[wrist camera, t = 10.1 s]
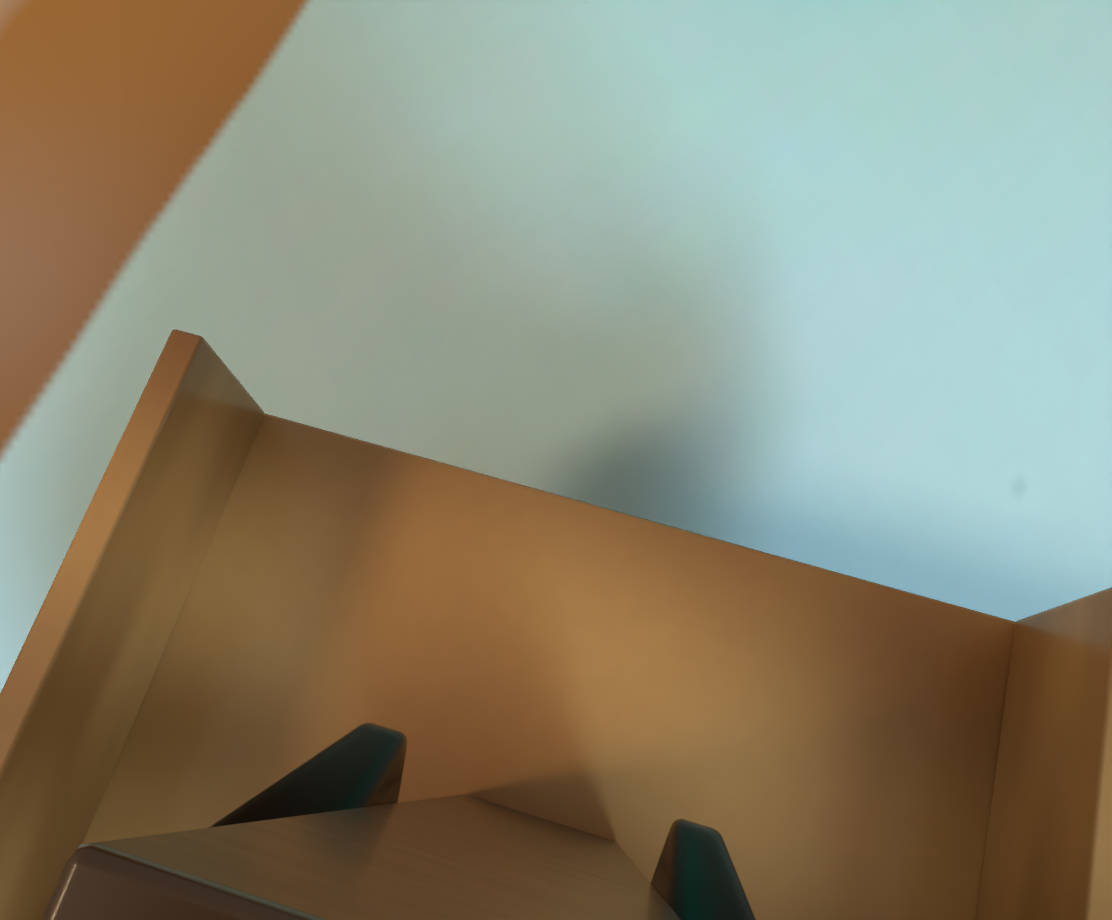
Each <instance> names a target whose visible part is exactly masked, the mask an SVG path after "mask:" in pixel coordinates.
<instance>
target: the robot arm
mask: <svg viewBox="0 0 1112 920" xmlns="http://www.w3.org/2000/svg"><path fill="white" fill-rule="evenodd" d="M406 749H407V738H406V736H405V735H404V734H403V733H402V732H400V731H397V730H393V729H390V728H387V727H384V726H380V725H377V724H374V723H364V724H361V725H360V726H358V727H357V728H355V729H354V730H352V731H351V732H349V733H348V734H346V735H345V736H343V737H342V738H340V739H339V740H337V741H336V742H334V743H333V744H331V745H330V746H328V747H327V748H326V749H324V750H323V751H321V752H320V753H318V754H317V755H315V756H314V757H312V758H311V759H309V760H308V761H306V762H305V763H303V764H302V765H300V766H299V767H297V768H296V769H294V770H293V771H291V772H290V773H288V774H287V775H286V776H284V777H283V778H281V779H280V780H278V781H277V782H275V783H274V784H272V785H271V786H269V787H268V788H266V789H265V790H263V791H262V792H260V793H259V794H257V795H256V796H254V797H253V798H251V799H250V800H248V801H247V802H246V803H244V804H243V805H241V806H240V807H238V808H237V809H235V810H234V811H232V812H231V813H229V814H228V815H226V816H225V817H223V818H222V819H220V820H219V821H217V822H216V823H214V824H213V825H211V826H210V827H217V826H225V825H233V824H240V823H248V822H255V821H263V820H271V819H278V818H286V817H294V816H301V815H309V814H316V813H324V812H332V811H339V810H347V809H355V808H362V807H370V806H377V805H385V804H393V803H397V802H398V798H399V792H400V786H401V780H402V774H403V768H404V762H405V755H406ZM210 827H208V828H210ZM651 884H652V886H653V887H654V888H655V889H656V890H657V892H658V893H659V894H660V895H661V896H662V898H663V899H664V900H665V901H666V902H667V904H668V905H669V906H670V907H671V908H672V909H673V911H674V912H675V913H676V914H677V915H678V917H679V918H680V919H681V920H756V919H755V916H754V914H753V912H752V909H751V907H750V904H749V902H748V899H747V897H746V894H745V892H744V889H743V887H742V884H741V882H740V879H739V877H738V874H737V872H736V869H735V867H734V864H733V862H732V860H731V857H730V855H729V852H728V850H727V847H726V845H725V842H724V840H723V838H722V836H721V834H720V833H719V832H718V831H717V830H716V829H714V828H711V827H708V826H704V825H701V824H698V823H695V822H691V821H688V820H685V819H677V820H675V821H674V822H673V823H672V825H671V828H670V830H669V833H668V836H667V838H666V841H665V844H664V847H663V850H662V852H661V855H660V858H659V861H658V864H657V867H656V869H655V872H654V875H653V878H652V881H651Z"/></svg>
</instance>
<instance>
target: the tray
mask: <svg viewBox="0 0 1112 920" xmlns="http://www.w3.org/2000/svg"><path fill="white" fill-rule="evenodd" d="M364 723H374V724H377V725H380V726H384V727H387V728H390V729H393V730H397V731H400V732H402V733H403V734H404V735H405V736H406V738H407V749H406V755H405V762H404V768H403V774H402V780H401V786H400V792H399V798H398V802H397V803H393V804H385V805H377V806H370V807H362V808H355V809H347V810H339V811H332V812H324V813H316V814H309V815H301V816H294V817H286V818H278V819H271V820H263V821H255V822H248V823H240V824H233V825H225V826H217V827H210V826H211V825H213V824H214V823H216V822H217V821H219V820H220V819H222V818H223V817H225V816H226V815H228V814H229V813H231V812H232V811H234V810H235V809H237V808H238V807H240V806H241V805H243V804H244V803H246V802H247V801H248V800H250V799H251V798H253V797H254V796H256V795H257V794H259V793H260V792H262V791H263V790H265V789H266V788H268V787H269V786H271V785H272V784H274V783H275V782H277V781H278V780H280V779H281V778H283V777H284V776H286V775H287V774H288V773H290V772H291V771H293V770H294V769H296V768H297V767H299V766H300V765H302V764H303V763H305V762H306V761H308V760H309V759H311V758H312V757H314V756H315V755H317V754H318V753H320V752H321V751H323V750H324V749H326V748H327V747H328V746H330V745H331V744H333V743H334V742H336V741H337V740H339V739H340V738H342V737H343V736H345V735H346V734H348V733H349V732H351V731H352V730H354V729H355V728H357V727H358V726H360V725H361V724H364ZM677 819H685V820H688V821H691V822H695V823H698V824H701V825H704V826H708V827H711V828H714V829H716V830H717V831H718V832H719V833H720V834H721V836H722V838H723V840H724V842H725V845H726V847H727V850H728V852H729V855H730V857H731V860H732V862H733V864H734V867H735V869H736V872H737V874H738V877H739V879H740V882H741V884H742V887H743V889H744V892H745V894H746V897H747V899H748V902H749V904H750V907H751V909H752V912H753V914H754V916H755V919H756V920H1112V587H1111V588H1109V589H1106V590H1103V591H1100V592H1097V593H1094V594H1092V595H1089V596H1086V597H1083V598H1080V599H1078V600H1075V601H1072V602H1069V603H1066V604H1063V605H1061V606H1058V607H1055V608H1052V609H1049V610H1046V611H1044V612H1041V613H1038V614H1035V615H1032V616H1030V617H1027V618H1024V619H1021V620H1018V621H1016V622H1014V621H1010V620H1006V619H1003V618H999V617H996V616H992V615H988V614H985V613H981V612H978V611H974V610H970V609H967V608H963V607H960V606H956V605H952V604H949V603H945V602H942V601H938V600H934V599H931V598H927V597H924V596H920V595H916V594H913V593H909V592H906V591H902V590H898V589H895V588H891V587H888V586H884V585H880V584H877V583H873V582H870V581H866V580H862V579H859V578H855V577H852V576H848V575H844V574H841V573H837V572H834V571H830V570H826V569H823V568H819V567H816V566H812V565H808V564H805V563H801V562H798V561H794V560H790V559H787V558H783V557H780V556H776V555H772V554H769V553H765V552H762V551H758V550H754V549H751V548H747V547H744V546H740V545H736V544H733V543H729V542H725V541H722V540H718V539H715V538H711V537H707V536H704V535H700V534H697V533H693V532H689V531H686V530H682V529H679V528H675V527H671V526H668V525H664V524H661V523H657V522H653V521H650V520H646V519H643V518H639V517H635V516H632V515H628V514H625V513H621V512H617V511H614V510H610V509H607V508H603V507H599V506H596V505H592V504H589V503H585V502H581V501H578V500H574V499H571V498H567V497H563V496H560V495H556V494H553V493H549V492H545V491H542V490H538V489H535V488H531V487H527V486H524V485H520V484H517V483H513V482H509V481H506V480H502V479H499V478H495V477H491V476H488V475H484V474H481V473H477V472H473V471H470V470H466V469H463V468H459V467H455V466H452V465H448V464H445V463H441V462H437V461H434V460H430V459H427V458H423V457H419V456H416V455H412V454H409V453H405V452H401V451H398V450H394V449H391V448H387V447H383V446H380V445H376V444H373V443H369V442H365V441H362V440H358V439H355V438H351V437H347V436H344V435H340V434H337V433H333V432H329V431H326V430H322V429H319V428H315V427H311V426H308V425H304V424H301V423H297V422H293V421H290V420H286V419H283V418H279V417H275V416H272V415H268V414H264V412H263V410H262V409H261V408H260V407H259V406H258V404H257V403H256V402H255V401H254V399H253V398H252V397H251V396H250V395H249V393H248V392H247V391H246V390H245V388H244V387H243V386H242V385H241V384H240V382H239V381H238V380H237V379H236V377H235V376H234V375H233V374H232V373H231V371H230V370H229V369H228V368H227V366H226V365H225V364H224V363H223V362H222V360H221V359H220V358H219V357H218V355H217V354H216V353H215V352H214V351H213V349H212V348H211V347H210V346H209V344H208V343H207V342H206V341H205V340H204V338H202V337H201V336H198V335H194V334H190V333H187V332H183V331H179V330H173V331H172V332H171V334H170V336H169V338H168V341H167V343H166V345H165V347H164V349H163V351H162V353H161V355H160V357H159V360H158V362H157V364H156V366H155V368H154V370H153V372H152V374H151V376H150V379H149V381H148V383H147V385H146V387H145V389H144V391H143V393H142V395H141V398H140V400H139V402H138V404H137V406H136V408H135V410H134V412H133V414H132V417H131V419H130V421H129V423H128V425H127V427H126V429H125V431H124V433H123V436H122V438H121V440H120V442H119V444H118V446H117V448H116V450H115V452H114V455H113V457H112V459H111V461H110V463H109V465H108V467H107V469H106V472H105V474H104V476H103V478H102V480H101V482H100V484H99V486H98V488H97V491H96V493H95V495H94V497H93V499H92V501H91V503H90V505H89V507H88V510H87V512H86V514H85V516H84V518H83V520H82V522H81V524H80V526H79V529H78V531H77V533H76V535H75V537H74V539H73V541H72V543H71V545H70V548H69V550H68V552H67V554H66V556H65V558H64V560H63V562H62V564H61V567H60V569H59V571H58V573H57V575H56V577H55V579H54V581H53V583H52V586H51V588H50V590H49V592H48V594H47V596H46V598H45V600H44V602H43V605H42V607H41V609H40V611H39V613H38V615H37V617H36V619H35V622H34V624H33V626H32V628H31V630H30V632H29V634H28V636H27V638H26V641H25V643H24V645H23V647H22V649H21V651H20V653H19V655H18V657H17V660H16V662H15V664H14V666H13V668H12V670H11V672H10V674H9V676H8V679H7V681H6V683H5V685H4V687H3V689H2V691H1V693H0V920H681V919H680V918H679V917H678V915H677V914H676V913H675V912H674V911H673V909H672V908H671V907H670V906H669V905H668V904H667V902H666V901H665V900H664V899H663V898H662V896H661V895H660V894H659V893H658V892H657V890H656V889H655V888H654V887H653V886H652V884H651V881H652V878H653V875H654V872H655V869H656V867H657V864H658V861H659V858H660V855H661V852H662V850H663V847H664V844H665V841H666V838H667V836H668V833H669V830H670V828H671V825H672V823H673V822H674V821H675V820H677ZM208 827H210V828H208Z"/></svg>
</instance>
